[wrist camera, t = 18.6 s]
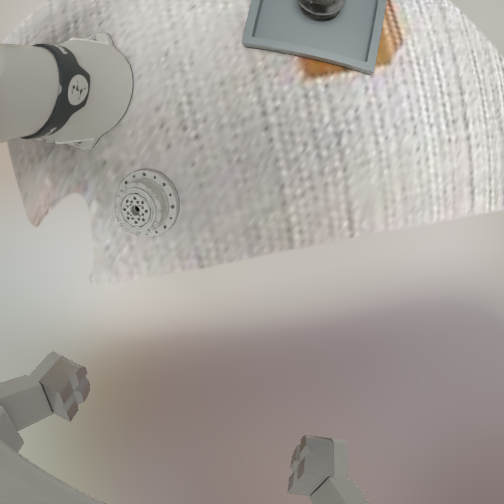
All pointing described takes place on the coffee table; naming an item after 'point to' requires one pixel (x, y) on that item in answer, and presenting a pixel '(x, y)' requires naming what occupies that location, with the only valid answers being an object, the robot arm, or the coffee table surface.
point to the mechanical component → (146, 203)
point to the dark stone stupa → (321, 9)
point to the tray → (318, 32)
